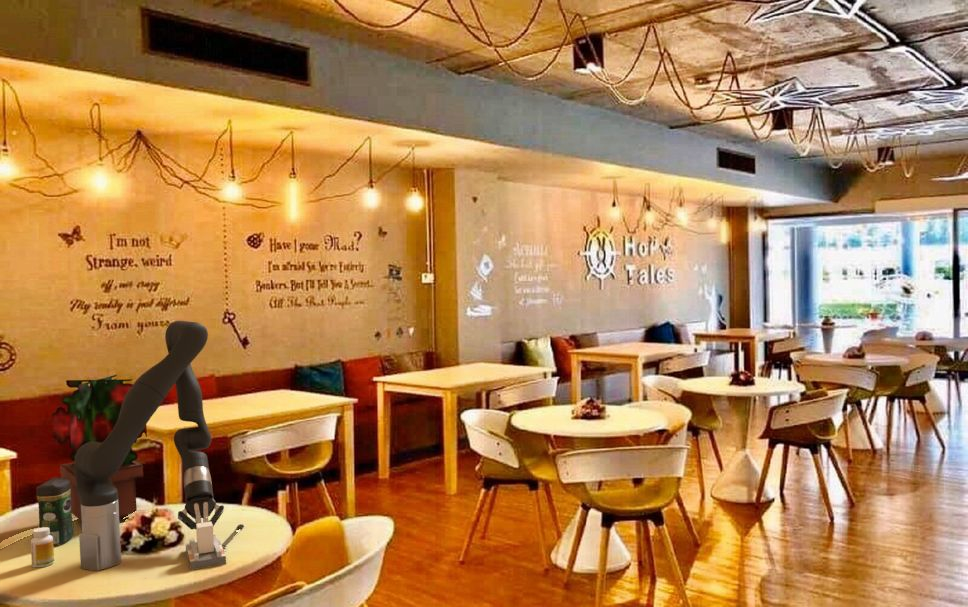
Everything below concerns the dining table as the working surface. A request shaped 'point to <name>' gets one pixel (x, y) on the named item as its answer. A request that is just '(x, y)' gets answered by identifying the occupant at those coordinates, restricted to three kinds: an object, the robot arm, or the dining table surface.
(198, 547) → the switch tab
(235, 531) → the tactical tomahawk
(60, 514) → the coffee jar
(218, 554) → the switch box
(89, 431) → the potted plant
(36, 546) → the supplement bottle
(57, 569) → the dining table surface
